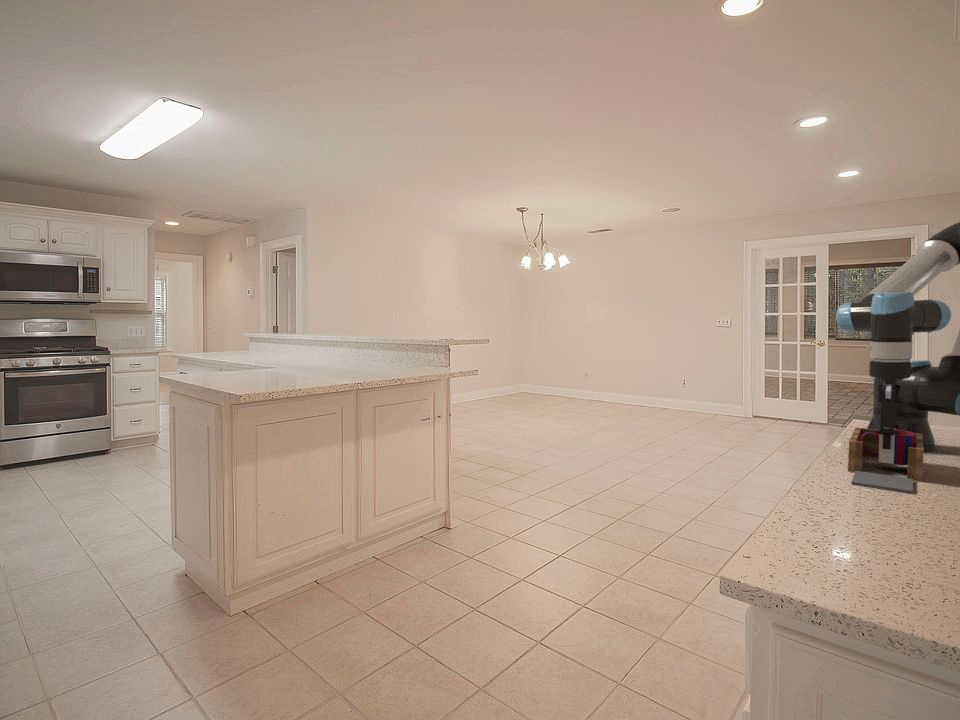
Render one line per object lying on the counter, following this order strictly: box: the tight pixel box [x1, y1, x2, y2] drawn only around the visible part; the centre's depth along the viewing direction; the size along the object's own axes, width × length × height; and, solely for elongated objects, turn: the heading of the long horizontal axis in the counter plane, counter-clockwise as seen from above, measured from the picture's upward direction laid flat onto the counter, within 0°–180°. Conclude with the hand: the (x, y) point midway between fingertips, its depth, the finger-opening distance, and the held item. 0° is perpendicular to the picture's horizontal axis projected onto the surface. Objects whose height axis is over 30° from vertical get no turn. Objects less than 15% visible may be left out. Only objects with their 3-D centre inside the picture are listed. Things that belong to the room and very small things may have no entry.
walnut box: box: [847, 427, 925, 482], centre depth 123 cm, size 19×13×7 cm
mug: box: [861, 429, 916, 466], centre depth 121 cm, size 7×10×7 cm
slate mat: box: [851, 471, 914, 495], centre depth 111 cm, size 10×10×1 cm
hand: (886, 458), depth 122 cm, fingers closed on mug, 7 cm apart
